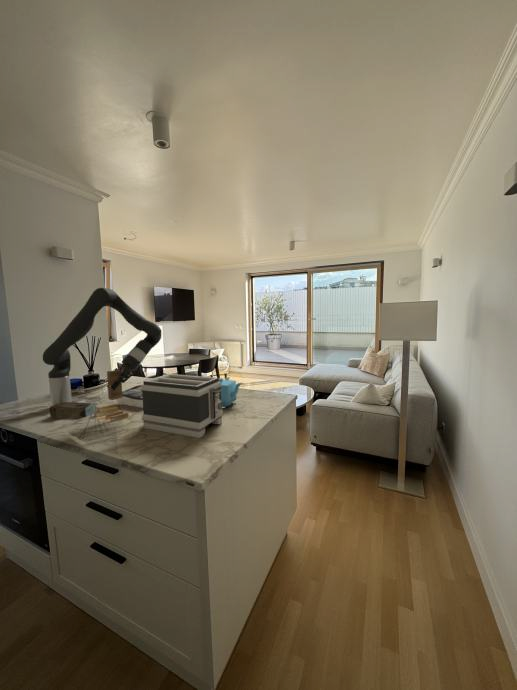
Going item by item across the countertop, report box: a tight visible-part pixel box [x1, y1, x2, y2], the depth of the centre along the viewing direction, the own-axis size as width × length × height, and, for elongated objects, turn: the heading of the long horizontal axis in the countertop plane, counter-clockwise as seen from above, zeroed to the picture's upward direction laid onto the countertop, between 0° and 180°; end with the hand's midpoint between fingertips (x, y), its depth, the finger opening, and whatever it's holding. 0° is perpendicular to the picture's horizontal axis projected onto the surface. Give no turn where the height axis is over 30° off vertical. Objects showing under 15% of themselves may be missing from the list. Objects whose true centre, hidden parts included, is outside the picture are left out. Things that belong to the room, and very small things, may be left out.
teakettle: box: [218, 376, 244, 407], centre depth 153 cm, size 19×19×15 cm
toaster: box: [141, 373, 224, 439], centre depth 123 cm, size 18×34×21 cm, turn 67°
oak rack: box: [90, 402, 135, 425], centre depth 135 cm, size 16×13×5 cm
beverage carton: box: [49, 401, 97, 420], centre depth 139 cm, size 8×19×7 cm, turn 84°
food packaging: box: [116, 384, 143, 409], centre depth 159 cm, size 25×8×23 cm
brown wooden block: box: [106, 369, 123, 401], centre depth 131 cm, size 3×5×13 cm, turn 143°
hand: (110, 388), depth 130 cm, fingers closed on brown wooden block, 3 cm apart
